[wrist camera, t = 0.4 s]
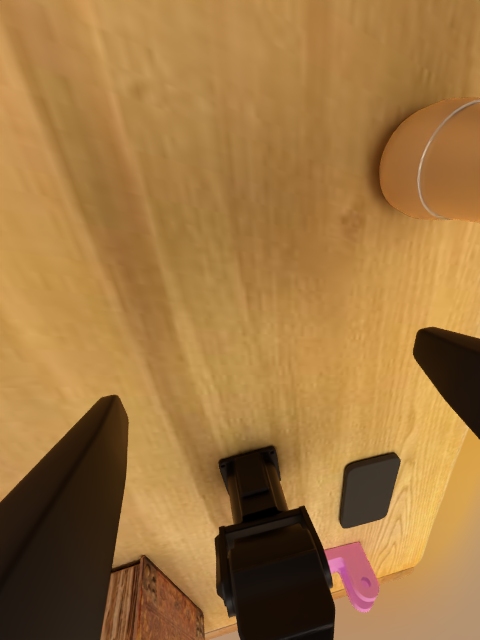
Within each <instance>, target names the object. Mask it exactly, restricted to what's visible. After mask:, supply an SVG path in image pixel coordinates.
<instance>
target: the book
mask: <svg viewBox="0 0 480 640" xmlns="http://www.w3.org/2000/svg"><path fill="white" fill-rule="evenodd" d="M100 640H205V634H204V616H203V612H202V611H201V610H200V609H199V608H198V607H197V606H196V605H195V604H194V603H193V602H192V601H191V600H190V599H189V598H188V597H187V596H186V595H185V594H184V593H183V592H182V591H181V590H179V589H178V588H177V587H176V586H175V585H174V584H173V583H172V582H171V581H170V580H169V579H168V578H167V577H166V576H165V575H164V574H163V573H162V572H161V571H160V570H159V569H158V568H157V567H156V566H155V565H154V564H153V563H152V562H151V561H150V560H149V559H148V558H147V557H146V556H142V557H141V559H140V564H137V565H135V566H132V567H129V568H126V569H123V570H120V571H117V572H114V573H111V576H110V583H109V589H108V595H107V602H106V608H105V614H104V621H103V627H102V633H101V639H100Z"/></svg>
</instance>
